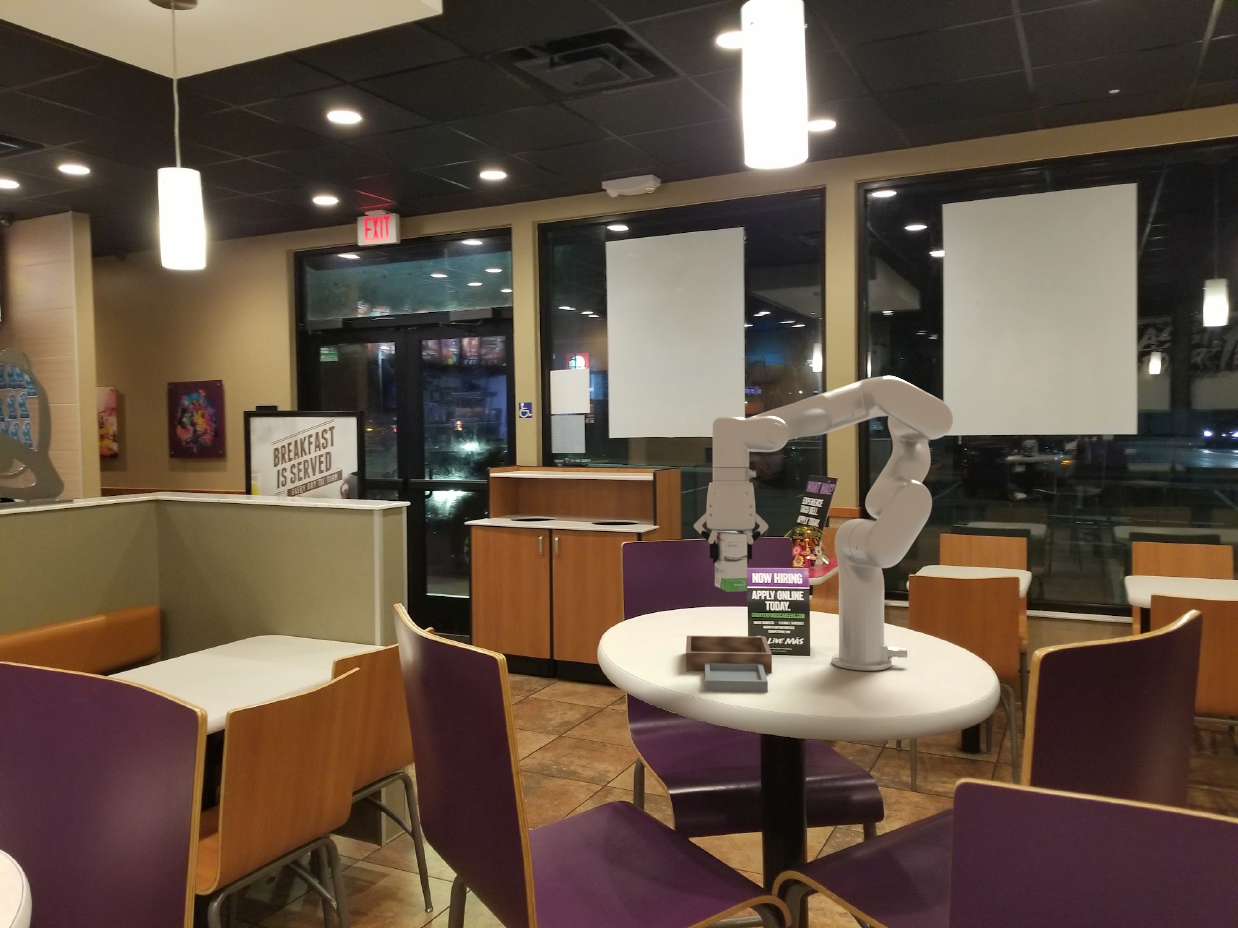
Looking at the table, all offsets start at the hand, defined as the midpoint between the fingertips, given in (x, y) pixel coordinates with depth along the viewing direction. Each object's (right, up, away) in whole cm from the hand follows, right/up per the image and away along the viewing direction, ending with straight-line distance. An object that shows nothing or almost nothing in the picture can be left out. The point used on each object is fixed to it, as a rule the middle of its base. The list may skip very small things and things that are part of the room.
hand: (730, 561), depth 182 cm
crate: (+1, -23, +11) cm, 26 cm away
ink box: (0, -6, 0) cm, 6 cm away
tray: (0, -24, -5) cm, 24 cm away
